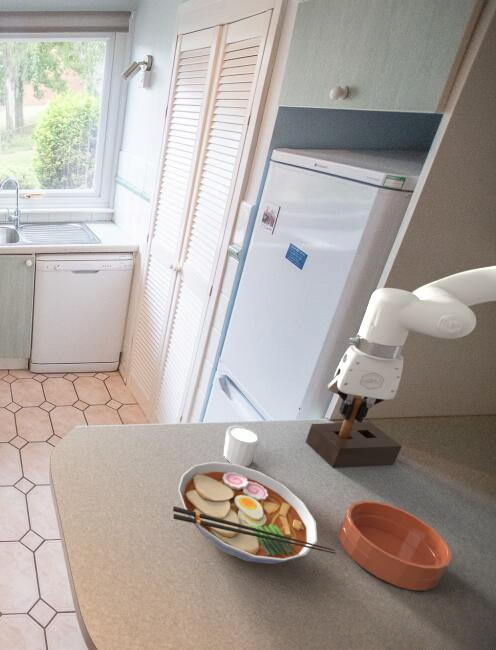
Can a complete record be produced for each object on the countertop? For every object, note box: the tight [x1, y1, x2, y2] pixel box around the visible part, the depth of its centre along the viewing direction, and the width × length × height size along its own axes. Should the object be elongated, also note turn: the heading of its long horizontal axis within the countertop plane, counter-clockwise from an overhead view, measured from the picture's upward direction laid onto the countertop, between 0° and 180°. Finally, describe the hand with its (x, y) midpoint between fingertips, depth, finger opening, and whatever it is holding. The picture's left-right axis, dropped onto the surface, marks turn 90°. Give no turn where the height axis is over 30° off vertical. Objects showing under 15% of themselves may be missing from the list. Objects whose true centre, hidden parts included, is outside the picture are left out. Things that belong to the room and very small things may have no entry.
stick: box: [338, 395, 363, 439], centre depth 104 cm, size 2×2×16 cm
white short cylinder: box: [223, 424, 261, 468], centre depth 104 cm, size 7×7×7 cm
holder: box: [305, 421, 403, 469], centre depth 106 cm, size 9×15×6 cm, turn 93°
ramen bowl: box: [172, 461, 336, 565], centre depth 85 cm, size 25×23×8 cm
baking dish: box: [338, 500, 453, 591], centre depth 81 cm, size 14×14×6 cm
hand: (350, 417), depth 103 cm, fingers closed on stick, 1 cm apart
